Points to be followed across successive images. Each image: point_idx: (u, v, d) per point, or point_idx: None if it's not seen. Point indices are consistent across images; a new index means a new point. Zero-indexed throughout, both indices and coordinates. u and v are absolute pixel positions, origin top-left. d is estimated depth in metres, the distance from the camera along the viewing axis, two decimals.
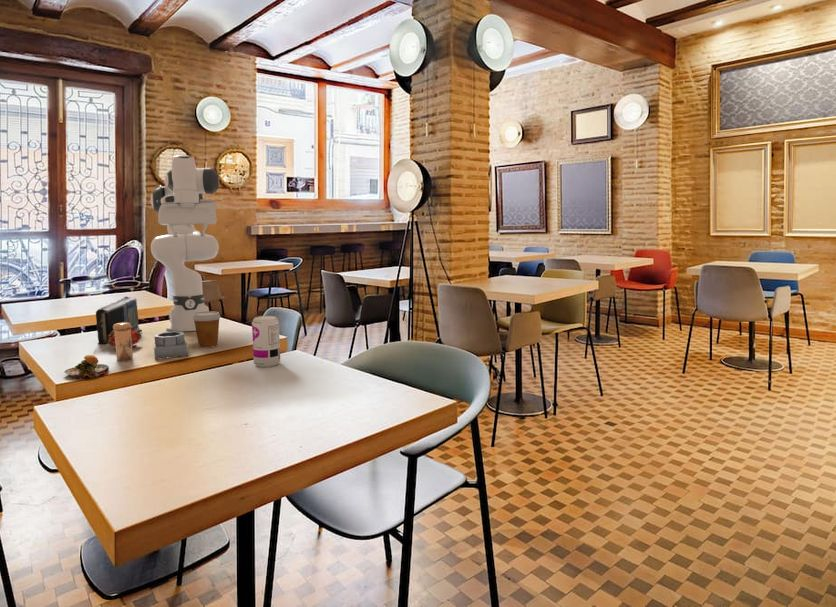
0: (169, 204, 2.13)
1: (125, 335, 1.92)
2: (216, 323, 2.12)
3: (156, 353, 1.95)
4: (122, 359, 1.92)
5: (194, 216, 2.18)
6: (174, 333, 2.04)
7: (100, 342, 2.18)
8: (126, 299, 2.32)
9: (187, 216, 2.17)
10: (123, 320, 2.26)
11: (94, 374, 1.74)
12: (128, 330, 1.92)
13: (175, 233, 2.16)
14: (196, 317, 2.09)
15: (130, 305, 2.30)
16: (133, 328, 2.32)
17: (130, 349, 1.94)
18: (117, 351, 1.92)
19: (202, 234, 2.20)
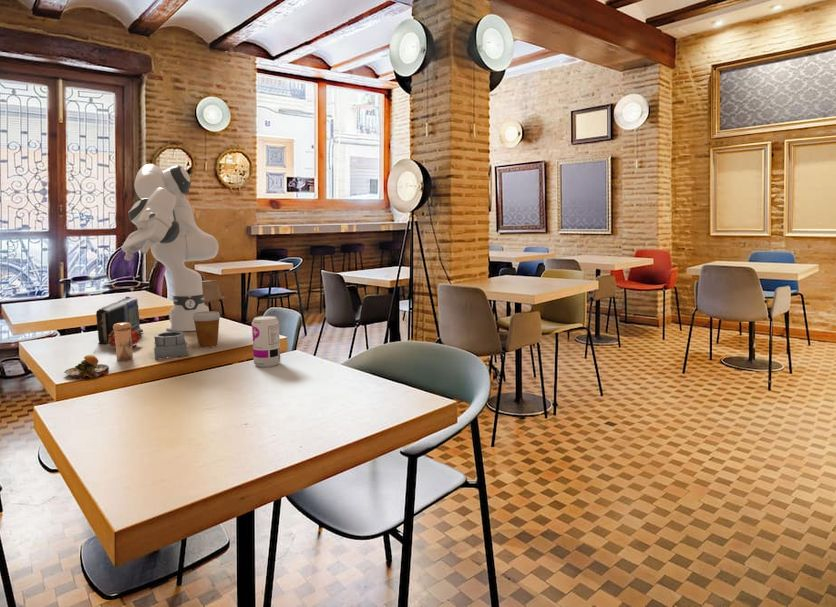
0: None
1: (125, 335, 1.92)
2: (216, 323, 2.12)
3: (156, 353, 1.95)
4: (122, 359, 1.92)
5: None
6: (174, 333, 2.04)
7: (100, 342, 2.18)
8: (127, 299, 2.32)
9: None
10: (123, 320, 2.26)
11: (94, 374, 1.74)
12: (128, 330, 1.92)
13: None
14: (196, 317, 2.09)
15: (131, 305, 2.30)
16: (134, 328, 2.32)
17: (130, 349, 1.94)
18: (117, 351, 1.92)
19: None
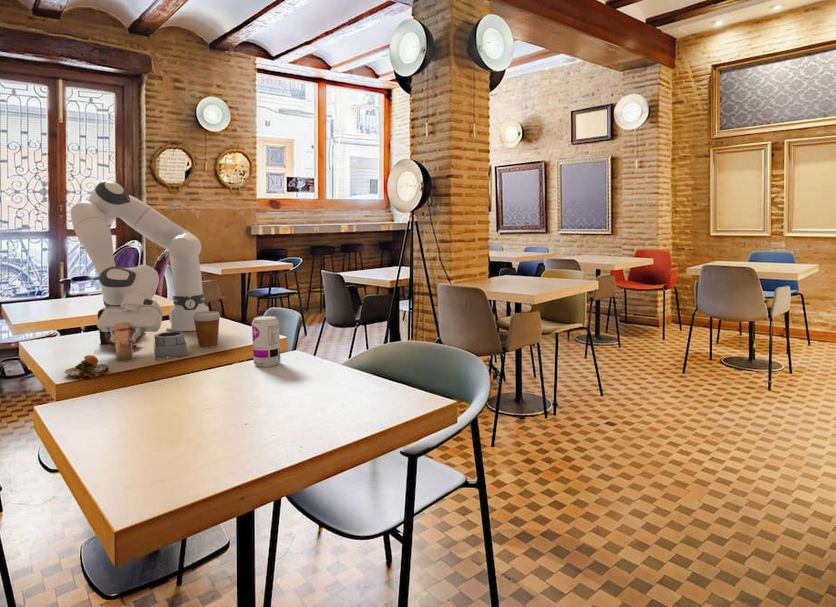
0: None
1: (125, 335, 1.92)
2: (216, 323, 2.12)
3: (156, 353, 1.95)
4: (122, 359, 1.92)
5: None
6: (174, 333, 2.04)
7: (102, 342, 2.17)
8: None
9: None
10: None
11: (94, 374, 1.74)
12: (128, 330, 1.92)
13: None
14: (196, 317, 2.09)
15: None
16: None
17: (130, 349, 1.94)
18: (117, 351, 1.92)
19: None
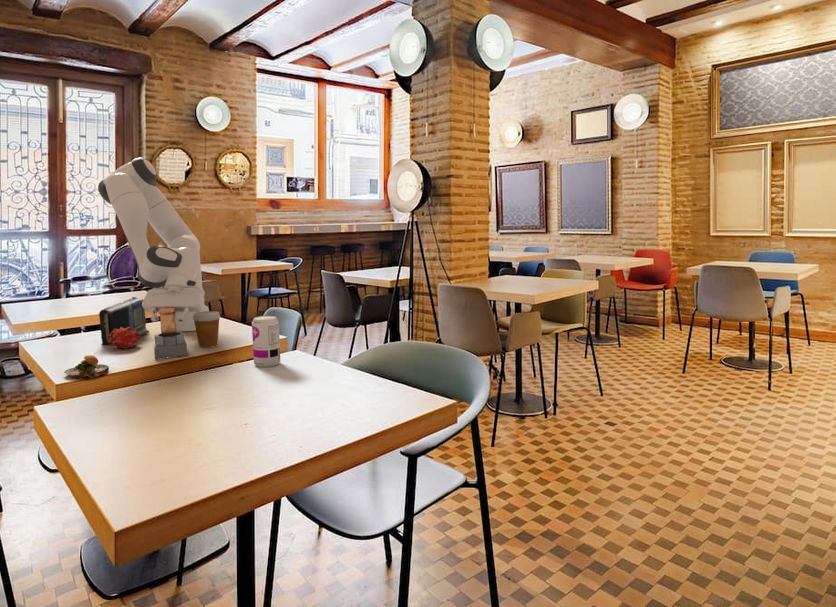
0: None
1: (171, 319, 1.98)
2: (216, 323, 2.12)
3: (156, 353, 1.95)
4: None
5: None
6: None
7: (103, 343, 2.17)
8: (133, 299, 2.31)
9: None
10: (128, 321, 2.24)
11: (94, 374, 1.74)
12: (173, 314, 1.99)
13: None
14: (196, 317, 2.09)
15: (136, 306, 2.28)
16: (139, 329, 2.31)
17: (175, 332, 2.00)
18: (163, 334, 1.98)
19: None
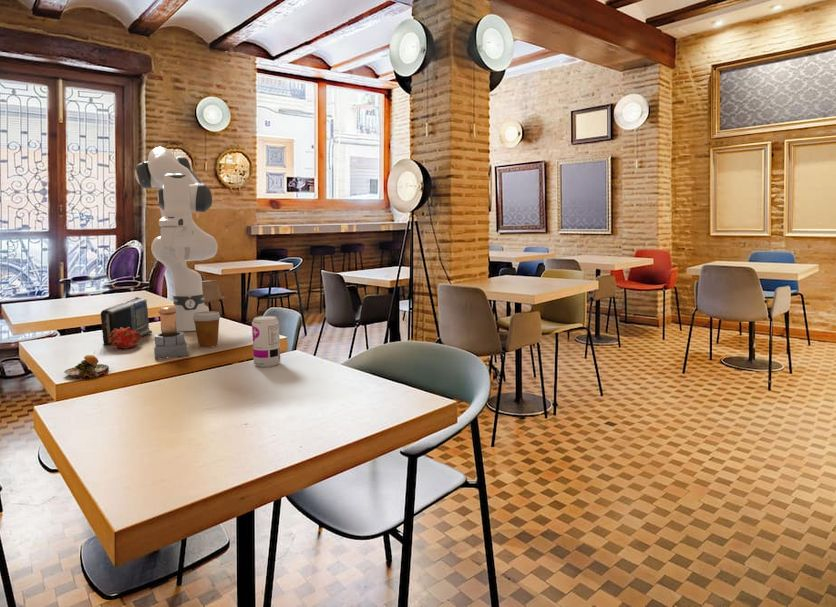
0: (179, 227, 1.99)
1: (171, 319, 1.98)
2: (216, 323, 2.12)
3: (156, 353, 1.95)
4: None
5: (187, 238, 2.08)
6: None
7: (105, 343, 2.16)
8: (136, 300, 2.30)
9: (184, 239, 2.06)
10: (130, 321, 2.23)
11: (94, 374, 1.74)
12: (173, 314, 1.98)
13: (177, 258, 2.02)
14: (196, 317, 2.09)
15: (138, 306, 2.27)
16: (142, 329, 2.30)
17: (175, 332, 2.00)
18: (163, 334, 1.98)
19: (189, 257, 2.12)
